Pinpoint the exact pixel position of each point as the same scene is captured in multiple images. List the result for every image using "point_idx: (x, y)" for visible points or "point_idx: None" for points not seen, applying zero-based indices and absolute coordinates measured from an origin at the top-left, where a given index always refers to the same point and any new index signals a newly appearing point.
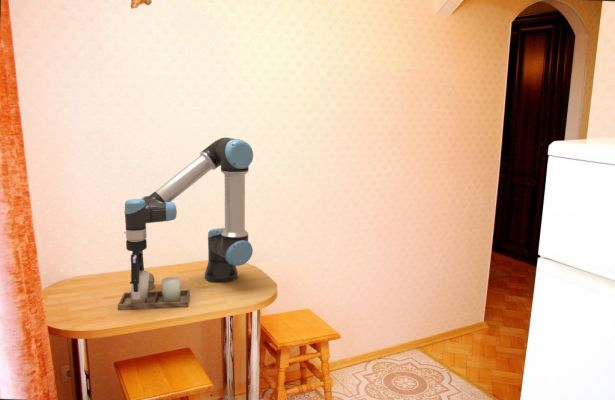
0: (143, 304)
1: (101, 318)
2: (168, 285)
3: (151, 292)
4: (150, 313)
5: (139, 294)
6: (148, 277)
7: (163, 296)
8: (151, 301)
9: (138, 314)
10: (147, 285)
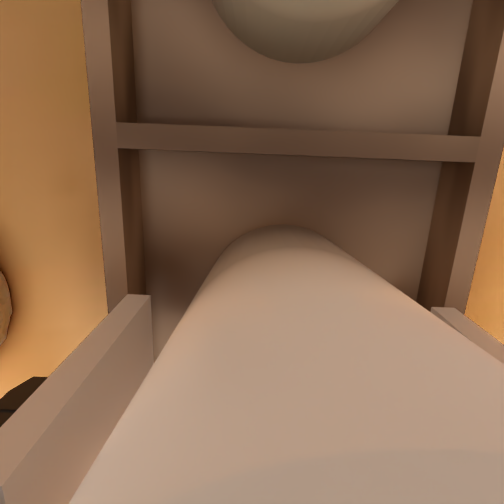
0: (474, 253)
1: None
2: None
3: (123, 201)
4: (498, 173)
5: (495, 344)
6: (433, 342)
7: (387, 8)
8: (268, 185)
9: (485, 271)
10: (373, 276)
